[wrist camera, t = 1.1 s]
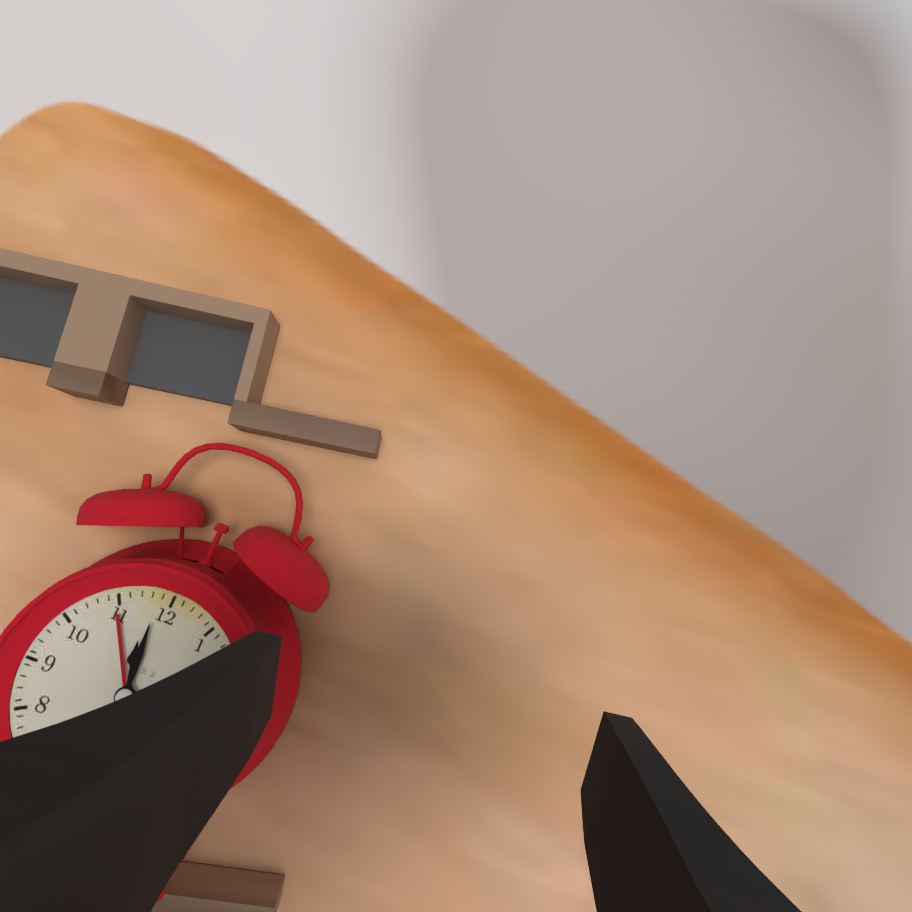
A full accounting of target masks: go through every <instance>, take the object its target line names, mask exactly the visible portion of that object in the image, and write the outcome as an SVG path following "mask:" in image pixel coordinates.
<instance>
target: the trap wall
mask: <svg viewBox="0 0 912 912" xmlns="http://www.w3.org/2000/svg"><path fill="white" fill-rule="evenodd" d="M46 385H47V386H50V387H52V388H55V389H57V390H60V391H62V392H65V393H67V394H70V395H72V396H76V397H80V398H85V399H90V400H95V401H100V402H104V403H109V404H114V405H119V406H123V403H124V399H125V396H126V393H127V389H128V386H129V384H128V383H126V382H124V381H122V380H121V379H119V378H117V377H115V376H113V375H111V374H109V373H107V372H104V371H99V370H95V369H90V368H85V367H80V366H76V365H71V364H66V363H62V362H57V361H53V364H52V367H51V370H50V373H49V377H48V380H47V383H46ZM228 423H229V424H230V425H232V426H234V427H235V428H237V429H239V430H240V431H244V432H249V433H254V434H259V435H263V436H268V437H273V438H278V439H283V440H287V441H292V442H297V443H302V444H307V445H311V446H316V447H321V448H326V449H331V450H336V451H340V452H345V453H350V454H355V455H360V456H364V457H369V458H374V459H377V456H378V452H379V447H380V443H381V438H382V436H381V430H377V429H372V428H367V427H363V426H358V425H353V424H349V423H344V422H339V421H334V420H330V419H325V418H320V417H316V416H311V415H306V414H302V413H297V412H292V411H287V410H283V409H278V408H273V407H269V406H264V405H259V404H254V403H250V402H245V401H240V400H236V399H234V401H233V404H232V408H231V412H230V416H229V419H228ZM284 878H285V875H279V874H272V873H264V872H257V871H250V870H242V869H235V868H228V867H220V866H213V865H206V864H198V863H191V862H184V861H181V862H180V864H179V865H178V867H177V868H176V870H175V872H174V873H173V875H172V876H171V878H170V880H169V881H168V883H167V884H166V886H165V895H164V897H163V899H162V900H160V901H159V902H156V903H155V905H154V907H153V909H152V911H151V912H276V911H277V908H278V904H279V901H280V896H281V891H282V887H283V882H284Z"/></svg>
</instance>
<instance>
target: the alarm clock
mask: <svg viewBox="0 0 912 912" xmlns="http://www.w3.org/2000/svg"><path fill="white" fill-rule="evenodd" d="M211 449H214V450H229V451H234V452H239V453H242V454H245V455H248V456H251V457H254V458H256V459H258V460H260V461H263V462H265V463H267V464H268V465H270V466H272V467H273V468H275V469H276V470H278V471H279V472H280V473H281V474H282V475H284V476H285V477H286V478H287V480H288V481H289V482H290V484H291V485H292V487H293V490H294V492H295V498H296V512H295V519H294V524H293V529H292V535H291V538H290V537H288V536H286V535H285V534H283V533H282V532H280V531H278V530H276V529H273V528H270V527H264V526H256V527H253V528H250V529H248V530H246V531H245V532H244V533H242V534H241V535H240V536H239V537H238V538H237V539H236V540H235V541H234V542H233V546H234V550H235V551H236V553H235V552H233V551H231V550H229V549H227V548H224V547H221V546H218V545H217V544H218V542H219V540H220V538H221V535H222V533H224V534H226V533H227V532H228V530H229V527H228V526H226V525H223V524H221V523H217V524H216V525H215V527H214V530H216V531H217V533H216V536H215V538H214V540H213V542H212V544H211V543H207V542H203V541H197V540H184V527H205V511H204V509H203V507H202V505H201V503H199V502H198V501H196V500H195V499H194V498H192V497H189V496H187V495H184V494H180V493H176V492H170V491H163V490H165V489H166V488H168V486H169V485H170V483H171V482H172V481H173V479H174V478H175V476H176V475H177V474H178V472H179V471H180V469H181V468H182V467H183V466H184V465H185V463H186V462H187V461H188V460H189V459H191V458H192V457H194V456H195V455H196V454H198V453H201V452H204V451H207V450H211ZM151 479H152V475H151V474H144V475H143V481H142V487H141V489H122V490H115V491H107V492H103V493H98V494H96V495H94V496H92V497H90V498H88V499H86V501H85V502H84V503H83V504H82V505H81V506H80V509H79V512H78V515H77V523H76V525H102V526H157V527H180V536H179V540H161V541H154V542H147V543H143V544H139V545H135V546H132V547H129V548H126V549H123V550H120V551H118V552H116V553H113V554H111V555H109V556H107V557H105V558H103V559H101V560H100V561H98V562H96V563H95V564H93V565H91V566H90V567H88V568H85V569H83V570H81V571H78V572H76V573H74V574H71V575H70V576H68V577H66V578H64V579H62V580H60V581H59V582H57V583H56V584H54V585H53V586H51V587H50V588H48V589H47V590H45V591H44V592H43V593H42V594H40V595H39V596H38V597H37V598H35V599H34V600H33V601H31V602H30V603H29V604H28V605H27V606H26V607H25V608H24V609H23V610H22V611H20V612H19V613H18V614H17V615H16V617H15V618H14V619H13V620H12V621H11V622H10V624H9V625H8V626H7V627H6V628H5V630H4V631H3V633H2V634H1V636H0V742H1V741H4V740H7V739H10V738H13V737H16V736H20V735H23V734H26V733H29V732H32V731H35V730H38V729H41V728H45V727H48V726H51V725H54V724H57V723H60V722H63V721H65V720H68V719H71V718H74V717H76V716H79V715H81V714H84V713H87V712H89V711H92V710H94V709H97V708H100V707H102V706H104V705H107V704H109V703H112V702H114V701H117V700H119V699H121V698H123V697H126V696H128V695H130V694H132V693H134V692H137V691H139V690H141V689H143V688H145V687H147V686H149V685H151V684H153V683H156V682H158V681H160V680H162V679H164V678H166V677H168V676H170V675H172V674H175V673H177V672H179V671H180V670H182V669H184V668H186V667H188V666H190V665H192V664H194V663H196V662H198V661H200V660H201V659H203V658H205V657H207V656H209V655H211V654H213V653H215V652H216V651H218V650H220V649H222V648H224V647H226V646H227V645H229V644H231V643H233V642H235V641H237V640H239V639H240V638H242V637H244V636H246V635H248V634H250V633H252V632H254V631H256V630H257V631H261V632H265V633H270V634H274V635H278V636H282V643H281V650H280V658H279V665H278V672H277V680H276V687H275V695H274V702H273V709H272V716H271V718H270V720H269V722H268V724H267V726H266V728H265V730H264V732H263V734H262V736H261V738H260V740H259V742H258V743H257V745H256V747H255V749H254V751H253V753H252V755H251V757H250V759H249V760H248V762H247V763H246V765H245V766H244V768H243V770H242V771H241V773H240V774H239V776H238V777H237V779H236V780H235V782H234V783H233V785H232V786H231V788H232V787H234V786H235V785H236V784H238V783H239V782H240V781H242V780H243V779H244V778H245V777H246V776H247V775H249V774H250V773H251V772H252V771H253V770H254V769H255V768H256V767H257V766H258V765H259V764H260V763H261V761H262V760H263V759H264V758H265V757H266V755H267V754H268V753H269V751H270V750H271V749H272V747H273V746H274V744H275V743H276V741H277V739H278V738H279V736H280V735H281V733H282V731H283V729H284V727H285V725H286V723H287V721H288V719H289V717H290V714H291V712H292V709H293V706H294V703H295V700H296V696H297V692H298V688H299V682H300V674H301V648H300V641H299V635H298V631H297V627H296V624H295V621H294V618H293V615H292V612H291V610H290V608H289V606H288V604H287V602H286V600H287V601H289V602H290V603H292V604H293V605H294V606H296V607H298V608H300V609H302V610H304V611H306V612H316V611H317V610H318V609H319V608H320V607H321V606H322V604H323V603H324V601H325V600H326V598H327V596H328V592H329V582H328V579H327V576H326V574H325V572H324V570H323V569H322V567H321V566H320V565H319V564H318V562H317V561H316V560H315V559H314V558H313V557H312V556H311V555H310V554H309V552H308V551H307V550H306V549H307V548H308V547H309V546H310V544H311V543H312V542H313V541H314V539H313V538H312V537H311V536H307V538H306V539H305V540H304V541H303V542H302V543H300V541H299V539H298V537H297V533H298V530H299V526H300V523H301V519H302V509H303V499H302V493H301V489H300V487H299V485H298V483H297V481H296V479H295V478H294V477H293V475H292V474H291V473H290V472H289V471H288V470H287V469H286V468H285V467H283V466H282V465H280V464H279V463H277V462H276V461H274V460H273V459H271V458H269V457H266V456H264V455H262V454H260V453H258V452H256V451H254V450H250V449H247V448H243V447H240V446H236V445H231V444H223V443H212V444H205V445H202V446H199V447H196V448H194V449H192V450H191V451H189V452H188V453H186V454H185V455H184V456H183V457H182V458H181V459H180V460H179V461H178V462H177V463H176V465H175V466H174V468H173V469H172V470H171V472H170V473H169V475H168V476H167V478H166V479H165V481H164V482H163V483H162V484H161V485H160V486H157V487H154V488H151V482H152V481H151ZM285 599H286V600H285ZM231 788H230V789H231ZM164 895H165V888H164V889H163V891H162V893H161V894H160V896H159V898H158V900H157V902H159V901H160V900H162V899H163V897H164Z"/></svg>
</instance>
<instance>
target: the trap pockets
mask: <svg viewBox="0 0 912 912" xmlns="http://www.w3.org/2000/svg"><path fill="white" fill-rule="evenodd" d="M279 328H280V325H279V324H278V322H277V320H276V318H275V317H274V315H273V313H272V312H271V310H268V309H264V308H259V307H255V306H251V305H246V304H242V303H237V302H233V301H229V300H224V299H220V298H216V297H211V296H207V295H202V294H198V293H194V292H189V291H185V290H181V289H176V288H172V287H167V286H163V285H159V284H154V283H150V282H145V281H141V280H137V279H132V278H128V277H124V276H119V275H115V274H110V273H106V272H102V271H97V270H93V269H89V268H84V267H80V266H75V265H71V264H67V263H62V262H58V261H54V260H49V259H45V258H40V257H36V256H32V255H27V254H23V253H18V252H14V251H10V250H5V249H1V248H0V357H4V358H8V359H13V360H18V361H23V362H27V363H32V364H37V365H42V366H46V367H52V364H53V361H57V362H62V363H66V364H71V365H76V366H80V367H85V368H90V369H95V370H99V371H104V372H107V373H109V374H111V375H113V376H115V377H117V378H119V379H121V380H122V381H124V382H126V383H128V384H131V385H136V386H141V387H146V388H150V389H155V390H160V391H165V392H169V393H174V394H179V395H183V396H188V397H193V398H198V399H202V400H207V401H212V402H217V403H221V404H226V405H231V406H232V404H233V401H234V399H236V400H240V401H245V402H250V403H254V404H259V405H260V402H261V398H262V394H263V390H264V386H265V382H266V378H267V375H268V371H269V367H270V363H271V359H272V355H273V351H274V348H275V344H276V340H277V336H278V332H279Z"/></svg>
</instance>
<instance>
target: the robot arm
mask: <svg viewBox="0 0 912 912" xmlns="http://www.w3.org/2000/svg"><path fill="white" fill-rule="evenodd" d="M281 643H282V636H278V635H274V634H270V633H265V632H261V631H257V630H256V631H254V632H252V633H250V634H248V635H246V636H244V637H242V638H240V639H239V640H237V641H235V642H233V643H231V644H229V645H227V646H226V647H224V648H222V649H220V650H218V651H216V652H215V653H213V654H211V655H209V656H207V657H205V658H203V659H201V660H200V661H198V662H196V663H194V664H192V665H190V666H188V667H186V668H184V669H182V670H180V671H179V672H177V673H175V674H172V675H170V676H168V677H166V678H164V679H162V680H160V681H158V682H156V683H153V684H151V685H149V686H147V687H145V688H143V689H141V690H139V691H137V692H134V693H132V694H130V695H128V696H126V697H123V698H121V699H119V700H117V701H114V702H112V703H109V704H107V705H104V706H102V707H100V708H97V709H94V710H92V711H89V712H87V713H84V714H81V715H79V716H76V717H74V718H71V719H68V720H65V721H63V722H60V723H57V724H54V725H51V726H48V727H45V728H41V729H38V730H35V731H32V732H29V733H26V734H23V735H20V736H16V737H13V738H10V739H7V740H4V741H1V742H0V912H151V911H152V909H153V907H154V905H155V903H156V902H157V900H158V898H159V896H160V894H161V893H162V891H163V889H164V888H165V886H166V884H167V883H168V881H169V880H170V878H171V876H172V875H173V873H174V872H175V870H176V868H177V867H178V865H179V864H180V862H181V861H182V859H183V858H184V856H185V855H186V853H187V852H188V850H189V849H190V847H191V846H192V844H193V843H194V841H195V840H196V838H197V837H198V835H199V834H200V832H201V831H202V829H203V828H204V826H205V825H206V823H207V822H208V820H209V819H210V817H211V816H212V815H213V813H214V812H215V810H216V809H217V807H218V806H219V804H220V803H221V801H222V800H223V798H224V797H225V795H226V794H227V792H228V791H229V789H230V788H231V786H232V785H233V783H234V782H235V780H236V779H237V777H238V776H239V774H240V773H241V771H242V770H243V768H244V766H245V765H246V763H247V762H248V760H249V759H250V757H251V755H252V753H253V751H254V749H255V747H256V745H257V743H258V742H259V740H260V738H261V736H262V734H263V732H264V730H265V728H266V726H267V724H268V722H269V720H270V718H271V716H272V709H273V702H274V695H275V687H276V680H277V672H278V665H279V658H280V650H281ZM581 804H582V820H583V832H584V843H585V849H586V855H587V860H588V866H589V871H590V877H591V883H592V888H593V893H594V899H595V904H596V909H597V912H801V911H800V910H799V909H798V908H797V907H796V906H795V905H794V904H793V903H792V902H791V901H790V900H789V899H788V898H787V897H786V896H785V895H784V894H783V893H782V892H781V891H780V890H779V889H778V888H777V887H776V886H775V885H774V884H773V883H772V882H771V881H770V880H769V879H768V878H767V877H766V876H765V875H764V874H763V873H762V872H761V871H760V870H759V869H758V868H757V867H756V866H755V865H754V864H753V863H752V862H751V860H750V859H749V858H748V857H747V856H746V855H745V854H744V853H743V852H742V851H741V850H740V849H739V848H738V846H737V845H736V844H735V843H734V842H733V841H732V840H731V839H730V837H729V836H728V835H727V834H726V833H725V832H724V831H723V830H722V828H721V827H720V826H719V825H718V824H717V823H716V822H715V821H714V819H713V818H712V817H711V816H710V815H709V813H708V812H707V811H706V810H705V809H704V808H703V806H702V805H701V804H700V803H699V802H698V800H697V799H696V798H695V797H694V795H693V794H692V793H691V792H690V791H689V789H688V788H687V787H686V786H685V784H684V783H683V782H682V781H681V779H680V778H679V777H678V776H677V774H676V773H675V772H674V771H673V769H672V768H671V767H670V765H669V764H668V763H667V762H666V760H665V759H664V758H663V756H662V755H661V754H660V753H659V751H658V750H657V749H656V747H655V746H654V745H653V744H652V742H651V741H650V740H649V738H648V737H647V736H646V735H645V733H644V732H643V731H642V729H641V728H640V727H639V726H638V724H637V723H636V722H635V721H634V720H633V719H632V718H630V717H626V716H621V715H617V714H613V713H608V712H603V716H602V719H601V722H600V726H599V729H598V733H597V736H596V740H595V743H594V746H593V750H592V753H591V757H590V760H589V763H588V767H587V770H586V774H585V777H584V780H583V784H582V787H581Z"/></svg>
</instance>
